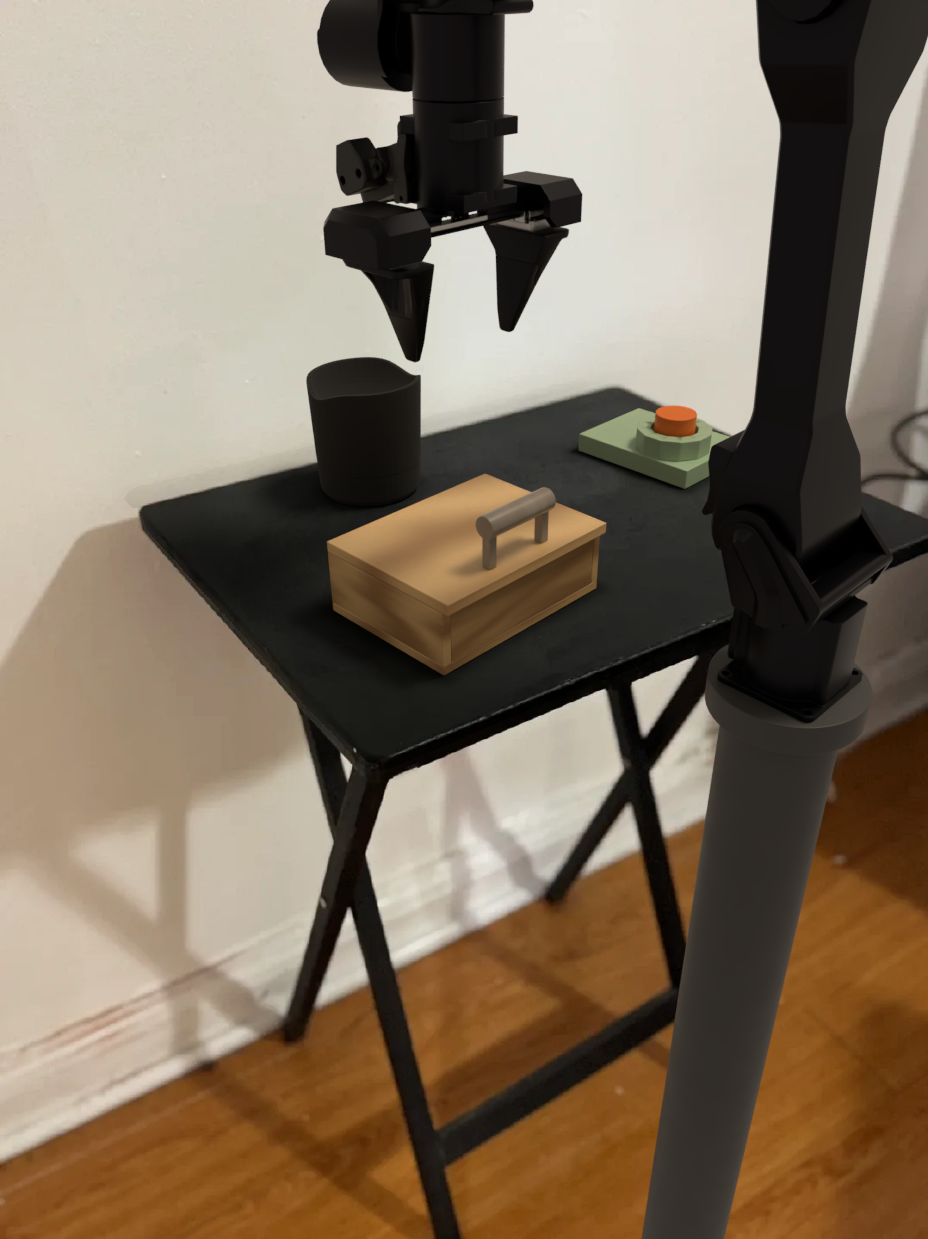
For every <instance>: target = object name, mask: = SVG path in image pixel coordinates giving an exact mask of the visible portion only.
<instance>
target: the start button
mask: <svg viewBox="0 0 928 1239" xmlns="http://www.w3.org/2000/svg"><path fill="white" fill-rule="evenodd" d="M654 413H655V424H654V431H655V433H658V434H661V435H664V436H672V437H686V436H692V435H694V433H695V428H696V420H697V419H698V413H697V411H696V410H694V409H693V408H691V407H687V406H683V405H664V406H661V407H659V408H657V409H656V410H655V412H654Z"/></svg>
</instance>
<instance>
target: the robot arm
mask: <svg viewBox="0 0 928 1239" xmlns="http://www.w3.org/2000/svg"><path fill="white" fill-rule="evenodd" d="M534 7H535V3H534V1H533V0H328V2H327V3H326V5H325V7H324V8H323V11H322V15H321V17H320V21H319V27H318V29H317V31H316V43H317V48H318V55H319V57H320V60H321V63H322V65H323V67H324V68H325V70H326V71H327V74H329V75H330V76H331V77H332V79H333V80H334V81H335V82H337V83H339V84H341V85H342V86H347V87H351V88H353V87H354V88H362V89H373V90H380V91H381V90H382V91H390V92H391V91H392V92H398V93H399V92H401V93H410V92H411V93H412V94H411V95H412V96H411V97H412V113H410V114H403V115H399V121H398V122H397V125H396V128H397V129H396V133H397V140H396V142H394V143H392V144H390V145H386V146H379V147H376V146H375V145H374V143H373V141H372V139H370V138H369V137H368V136H366V137H359V138H352V139H347V140H344V141H342V142H340V143H338V144H336V145H335V172H336V177H337V181H338V184H339V188H340V191H341V192H342V193H343V194H344V195H345V196H346V197H350V196H355V195H360V197H361V201H362V202H358V203H357V202H356V203H353V204H348V205H342V206H338V207H332V209H331V210H330V212H329V213H328V215H327V216H326V218H325V220H324V221H323V222H324V223H323V227H322V230H323V244H324V255H325V256H328V257H332V258H336V259H339V260H342V262H343V263H344V265H345V267H347V268H351V269H354V270H358V271H360V272H361V273H363V275H364V276H365V277H366V278H367V279H368V280H369V281H370V282H371V284H372V286H373V287H374V289H375V291H376V293H377V295H378V296H379V298H380V300H381V302H382V304H383V307H384V309H385V312H386V313H387V316H388V319H389V321H390V324H391V327H392V328H393V332H394V333H395V336H396V339H397V340H398V343H399V346H400V349H401V351H402V353H403V356H404V358H405V359H406V360H407V361H408V362H411V363H418V362H420V361H421V358H422V354H423V350H424V346H425V340H426V332H427V325H428V317H429V310H430V303H431V302H430V301H431V294H432V287H433V279H434V272H435V264H434V263H431V262H427V261H424V260H425V258H426V256H427V254H428V252H429V251H430V249H431V247H432V238H437V237H441V236H446V235H449V234H454V233H458V232H462V231H466V230H471V229H475V228H476V229H477V228H480V227H483V229H484V231H485V234H486V235H487V238H488V239H489V241H490V243H491V245H492V247H493V249H494V254H495V279H496V280H495V281H496V311H497V318H498V324H499V325H498V326H499V329H500V330H501V331H502V332H506V333H511V332H514V330H515V329H516V326H517V325H518V323H519V320H520V319H521V316H522V314H523V313H524V310H525V308H526V306H527V305H528V303H529V300H530V298H531V296H532V294H533V292H534V291H535V288H536V286H537V284H538V282H539V281H540V278H541V276H542V274H543V273H544V271H545V269H546V268H547V266H548V264H549V262H550V261H551V259H552V257H553V256H554V253H555V252H556V251H557V248H558V247H559V245H560V243H561V241H562V240H564V239H567V238H568V237H569V234H570V229H569V228H567V227H566V226H570V225H574V224H578V223H581V222H582V213H583V193H582V190H581V189H580V188H579V186H578V184H577V183H576V180H575V179H574V178H572V177H567V176H561V175H555V174H548V173H544V172H543V173H542V172H535V171H529V170H524V171H517V172H514V173H508V174H504V168H505V167H504V166H505V164H504V162H505V161H504V160H505V159H504V158H505V156H504V154H505V136H509V135H516V134H519V115H516V114H515V115H514V114H507V113H506V114H505V63H506V62H505V61H506V60H505V59H506V58H505V57H506V56H505V55H506V54H505V53H506V52H505V51H506V50H505V49H506V48H505V47H506V46H505V45H506V42H505V41H506V40H505V39H506V35H505V34H506V15H519V14H529V13H531V12H532V11H533V10H534ZM755 10H756V11H755V12H756V30H757V31H756V32H757V50H758V51H757V52H758V63H759V67H760V69H761V72H762V75H763V78H764V81H765V84H766V87H767V90H768V93H769V95H770V99H771V101H772V104H773V107H774V110H775V113H776V116H777V118H778V124H779V142H778V144H779V145H778V152H777V164H776V173H775V174H776V176H775V182H774V183H775V184H774V194H773V204H772V205H773V206H772V212H771V213H772V214H771V225H770V235H769V245H768V254H767V255H768V256H767V266H766V277H765V285H764V287H765V288H764V296H763V306H762V314H761V315H762V316H761V326H760V327H761V328H760V337H759V347H758V356H757V357H758V358H757V366H756V367H757V369H756V377H755V378H756V379H755V387H754V396H753V406H752V412H751V415H750V419H749V421H748V423H747V425H746V426H745V428H744V429H743V430H741V431H739V432H737V433H735V434H733V435H731V436H729V438H727V439H725V440H723V441H721V442H719V443H717V444H715V445H713V446H712V447H711V451H710V456H709V461H708V466H709V477H708V478H709V489H708V494H707V499H706V502H705V504H704V506H703V507H702V509H701V514H703V516H708V515H711V520H710V530H711V537H712V539H713V544H714V547H715V549H717V550H718V551H720V552H721V558H722V562H723V567H724V572H725V579H726V583H727V588H728V594H729V598H730V603H731V606H732V607H733V613H732V621H731V626H730V632H729V640H728V644H729V646H728V657H729V658H730V659H733V661H731V662H730V663H728V664H727V665H726V666H724V667H723V668H721V669H720V670H719V671H718V675H717V679H718V681H720V682H721V683H723V684H725V685H727V686H730V687H732V688H734V689H736V690H738V691H740V692H742V693H744V694H746V695H748V696H750V697H752V698H754V699H756V700H758V701H761V702H763V703H765V704H767V705H769V706H771V707H773V708H775V709H777V710H779V711H781V712H783V713H785V714H787V715H789V716H792V717H794V718H796V719H798V720H800V721H802V722H805V723H812V722H814V721H815V720H816V719H817V718H819V717H820V716H821V715H822V714H823V713H824V712H826V711H827V710H828V709H829V708H830V707H831V706H833V705H834V704H835V703H836V702H837V701H838V700H840V699H841V698H842V697H843V696H844V695H845V694H847V693H848V692H849V691H850V690H851V689H852V688H854V687H855V686H856V685H857V684H858V683H859V682H861V680H862V676H863V673H862V672H861V671H860V670H858V669H856V668H854V667H853V666H854V663H856V662H855V661H856V657H857V654H858V648H859V645H860V639H861V636H862V631H863V627H864V622H865V618H866V613H867V609H868V605H869V604H868V603H869V602H868V601H866V600H865V599H861V598H859V597H857V594H859V593H861V591H863V590H865V589H866V588H867V587H868V586H870V585H873V584H875V583H876V582H877V581H878V580H879V579H880V578H881V577H882V575H883V574H884V572H885V571H886V570H887V568H889V565H890V564H891V563H892V562H893V559H894V555H893V553H892V551H891V550H890V549H889V547H888V545H887V544H886V542H885V540H884V538H883V537H882V536H881V534H880V532H879V531H878V529H877V528H876V525H875V524H874V522H873V521H872V519H871V518H870V516H869V514H868V513H867V511H866V510H865V509H864V507H863V504H862V463H861V461H862V459H861V453H860V450H859V447H858V445H857V442H856V439H855V436H854V434H853V431H852V428H851V426H850V423H849V420H848V417H847V399H848V393H849V385H850V379H851V371H852V365H853V357H854V351H855V343H856V337H857V336H856V335H857V330H858V322H859V316H860V310H861V302H862V294H863V289H864V280H865V274H866V268H867V261H868V253H869V246H870V241H871V240H870V239H871V233H872V225H873V219H874V212H875V205H876V199H877V198H876V197H877V191H878V184H879V177H880V171H881V164H882V163H881V162H882V157H883V150H884V142H885V137H886V136H885V135H886V131H887V126H888V123H889V120H890V117H891V115H892V113H893V111H894V109H895V107H896V105H897V103H898V101H899V99H900V97H901V96H902V93H903V92H904V89H905V88H906V86H907V84H908V82H909V81H910V78H911V76H912V75H913V73H914V70H915V69H916V66H917V65H918V63H919V61H920V59H921V57H922V55H923V53H924V50H925V48H926V44H927V41H928V0H755ZM393 203H395V204H393ZM398 204H399V205H398ZM400 204H403V205H409V204H413V205H416V208H413V207H408V206H403V205H400ZM474 212H475V213H474ZM470 213H471V214H470ZM448 217H450V218H448ZM444 218H445V219H444ZM446 218H447V219H446Z"/></svg>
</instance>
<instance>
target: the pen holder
mask: <svg viewBox="0 0 928 1239" xmlns="http://www.w3.org/2000/svg"><path fill="white" fill-rule="evenodd" d="M305 383H306V390H307V397H308V405H309V412H310V413H309V414H310V420H311V421H310V422H311V427H312V435H313V442H314V449H315V457H316V462H317V469H318V474H319V475H318V477H319V482H320V487H321V489H322V491H323V493H325V495H327V497H328V498H330V499H332V500H333V501H335V502H337V503H340V504H343V505H348V506H355V507H378V506H385V505H389V504H393V503H397V502H399V501H402V500H405V499H406V498H408V497H409V496H411V495H412V494H413V493H414V492H415V491H416V490H417V488H418V487H419V485H420V482H421V456H422V455H421V454H422V450H421V448H422V445H421V443H422V441H421V440H422V439H421V438H422V437H421V436H422V426H421V425H422V415H421V414H422V375H421V374H412V373H410V372H409V371H407V370H406V369H404V368H402V367H401V366H399V365H398V364H397V363H395V362H392V361H391V360H388V359H385V358H382V357H376V356H374V357H373V356H359V357H358V356H357V357H349V358H341V359H336V360H332V361H329V362H326V363H323V364H321V365H318V366H316V367H313V369H311V370H310V371H309V372H308V373H307V375H306V379H305Z"/></svg>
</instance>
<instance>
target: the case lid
mask: <svg viewBox="0 0 928 1239" xmlns="http://www.w3.org/2000/svg"><path fill="white" fill-rule="evenodd" d="M606 532H607V522H605V521H602V520H601V519H598V518H596V517H593V516H590V515H588V514H586V513H583V512H581V511H578V510H576V509H574V508H571V507H569V506H566V505H564V504H561V503H559V502H557V500H556V496H555V493H554V492H553V491H552V490H551V488H548V487H545V486H543V487H540V488H538V489H536V490H534V491H530V490H527V489H524V488H522V487H519V486H517V485H514V484H512V483H510V482H507V481H504V480H502V479H500V478H498V477H495V476H492V475H490V474H488V473H483V474H480V475H477V476H476V477H473V478H471V479H469V480H467V481H464V482H462V483H460V484H457V485H455V486H453V487H450V488H447V489H445V490H443V491H441V492H439V493H436V494H434V495H432V496H429V497H427V498H424V499H422V500H420V501H417V502H416V503H413V504H411V505H408V506H406V507H404V508H402V509H398V510H397V511H395V512H392V513H390V514H388V515H385V516H383V517H380V518H378V519H376V520H374V521H371V522H369V523H367V524H364V525H362V526H360V527H357V528H355V529H353V530H351V531H348V532H346V533H343V534H341V535H339V536H336V537H334V538H332V539H329V540H327V541H326V548H327V553H328V552H330V553H332V554H334V555H335V556H337V557H339V558H341V559H343V560H345V561H346V562H348V563H350V564H352V565H354V566H356V567H358V568H359V569H361V570H363V571H365V572H367V573H369V574H371V575H372V576H374V577H376V578H378V579H380V580H382V581H384V582H385V583H387V584H389V585H391V586H393V587H395V588H397V589H398V590H400V591H402V592H404V593H406V594H408V595H410V596H411V597H413V598H415V599H417V600H419V601H421V602H422V603H424V604H426V605H428V606H430V607H432V608H434V609H435V610H437V611H439V612H441V613H443V614H445V615H447V616H449V615H451V614H453V613H455V612H457V611H459V610H461V609H462V608H464V607H466V606H468V605H470V604H472V603H474V602H476V601H478V600H479V599H481V598H483V597H485V596H487V595H489V594H491V593H493V592H495V591H496V590H498V589H500V588H502V587H504V586H506V585H508V584H510V583H512V582H513V581H515V580H517V579H519V578H521V577H523V576H525V575H527V574H529V573H530V572H532V571H534V570H536V569H538V568H540V567H542V566H544V565H546V564H547V563H549V562H551V561H553V560H555V559H557V558H559V557H561V556H563V555H564V554H566V553H568V552H570V551H572V550H574V549H576V548H578V547H580V546H581V545H583V544H585V543H587V542H589V541H591V540H593V539H595V538H597V537H599V536H600V537H601V536H603V535H604V534H606Z"/></svg>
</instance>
